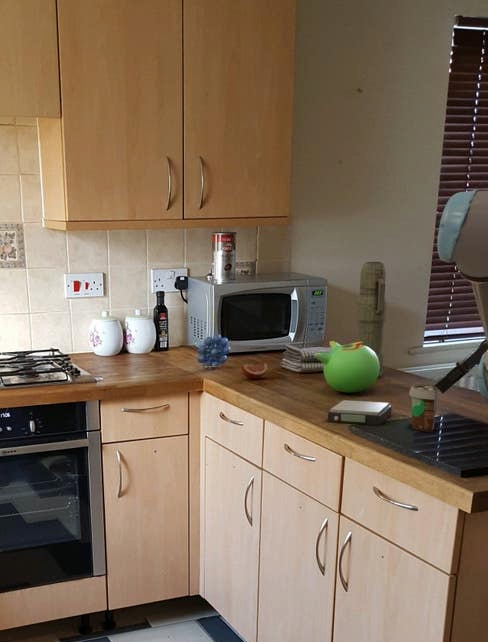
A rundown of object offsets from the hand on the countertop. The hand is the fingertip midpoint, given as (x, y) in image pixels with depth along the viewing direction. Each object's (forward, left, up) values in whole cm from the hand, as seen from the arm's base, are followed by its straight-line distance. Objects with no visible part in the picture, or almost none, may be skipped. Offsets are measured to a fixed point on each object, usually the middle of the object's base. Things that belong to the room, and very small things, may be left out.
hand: (444, 383), depth 206 cm
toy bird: (+38, +33, -11) cm, 52 cm away
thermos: (+67, +34, -11) cm, 76 cm away
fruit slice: (+51, +67, -11) cm, 85 cm away
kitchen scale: (+4, +21, -11) cm, 24 cm away
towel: (+75, +56, -11) cm, 94 cm away
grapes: (+66, +88, -11) cm, 111 cm away
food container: (-1, +5, -11) cm, 12 cm away
